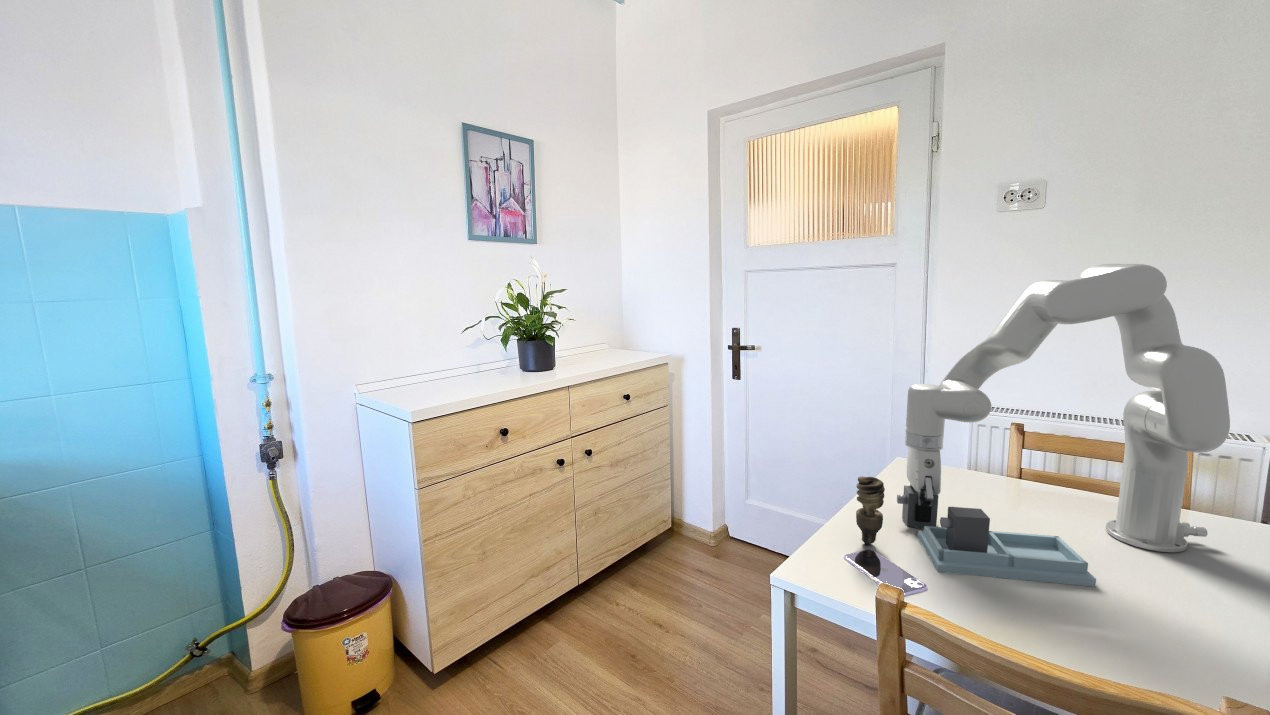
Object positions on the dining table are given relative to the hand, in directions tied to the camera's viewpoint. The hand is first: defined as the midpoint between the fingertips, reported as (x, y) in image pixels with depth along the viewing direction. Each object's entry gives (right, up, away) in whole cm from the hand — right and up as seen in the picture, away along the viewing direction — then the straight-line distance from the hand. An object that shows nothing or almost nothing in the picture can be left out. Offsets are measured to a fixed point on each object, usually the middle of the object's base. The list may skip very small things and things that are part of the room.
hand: (919, 515), depth 123 cm
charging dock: (+8, -4, -16) cm, 18 cm away
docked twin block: (+1, -3, -14) cm, 15 cm away
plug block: (0, -2, 0) cm, 2 cm away
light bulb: (-15, -4, -8) cm, 18 cm away
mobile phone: (-17, -6, -19) cm, 26 cm away
